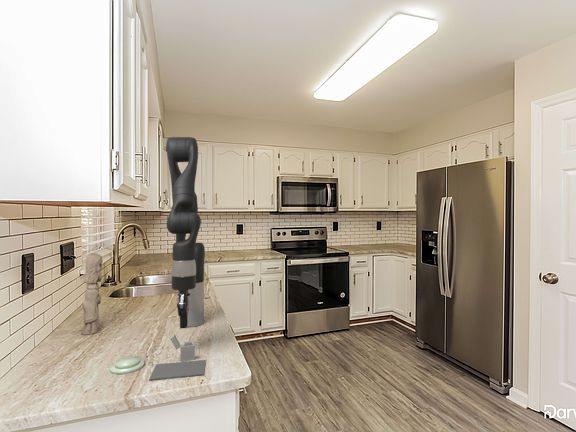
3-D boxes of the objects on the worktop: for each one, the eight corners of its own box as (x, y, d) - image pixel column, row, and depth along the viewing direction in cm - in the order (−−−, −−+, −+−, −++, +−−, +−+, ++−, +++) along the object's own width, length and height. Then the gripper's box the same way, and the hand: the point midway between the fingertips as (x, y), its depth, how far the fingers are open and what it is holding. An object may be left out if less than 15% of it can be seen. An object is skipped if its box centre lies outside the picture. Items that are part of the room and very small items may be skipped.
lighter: (194, 357, 98) (194, 331, 98) (194, 359, 97) (194, 333, 97) (170, 360, 96) (170, 334, 96) (169, 363, 94) (169, 336, 94)
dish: (115, 361, 96) (115, 355, 96) (147, 358, 97) (147, 352, 97) (104, 375, 87) (104, 369, 87) (140, 372, 89) (140, 366, 89)
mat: (156, 365, 93) (156, 364, 93) (205, 361, 96) (205, 359, 96) (149, 380, 84) (149, 379, 84) (203, 375, 87) (203, 373, 87)
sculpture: (102, 332, 120) (102, 253, 121) (80, 336, 117) (80, 254, 117) (102, 327, 127) (102, 251, 127) (81, 330, 123) (82, 252, 124)
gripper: (174, 271, 109) (174, 322, 108) (168, 277, 96) (167, 335, 95) (197, 270, 110) (197, 320, 110) (194, 276, 97) (193, 333, 97)
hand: (183, 327), depth 103 cm, fingers closed
